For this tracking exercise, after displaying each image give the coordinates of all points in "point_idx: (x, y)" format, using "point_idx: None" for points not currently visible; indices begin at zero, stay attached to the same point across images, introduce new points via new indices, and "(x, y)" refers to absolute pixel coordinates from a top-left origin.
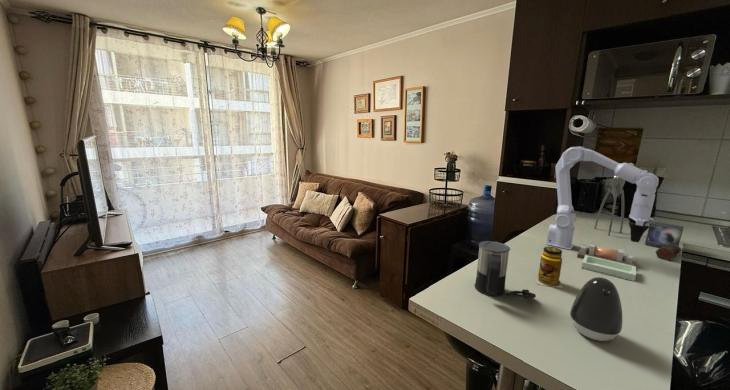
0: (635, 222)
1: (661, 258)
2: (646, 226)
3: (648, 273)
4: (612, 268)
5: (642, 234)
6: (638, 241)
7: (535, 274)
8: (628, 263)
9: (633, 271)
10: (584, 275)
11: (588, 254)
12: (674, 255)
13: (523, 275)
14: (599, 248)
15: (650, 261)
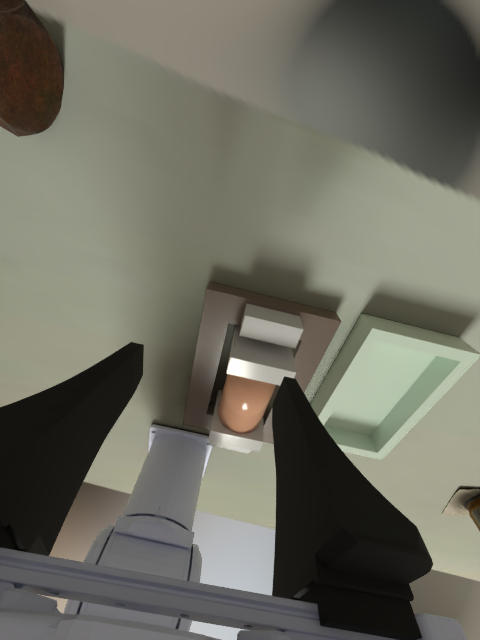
0: (57, 493)
1: (57, 105)
2: (394, 564)
3: (350, 260)
4: (421, 405)
5: (333, 440)
6: (299, 385)
7: (449, 513)
8: (306, 328)
9: (440, 352)
10: (431, 442)
11: (266, 422)
12: (19, 2)
13: (457, 525)
14: (252, 422)
15: (157, 193)
